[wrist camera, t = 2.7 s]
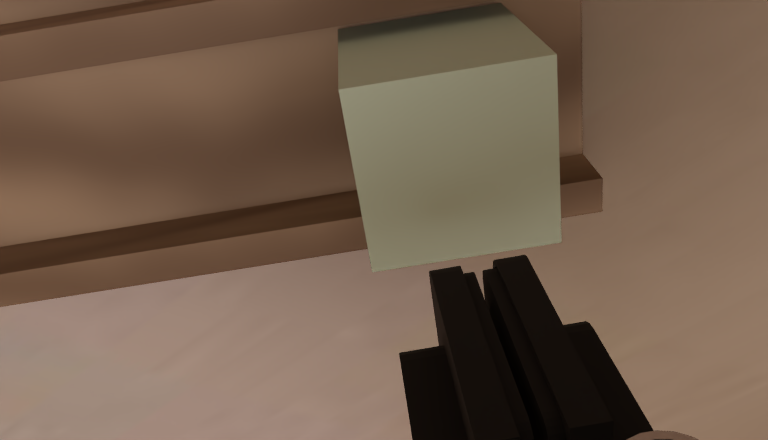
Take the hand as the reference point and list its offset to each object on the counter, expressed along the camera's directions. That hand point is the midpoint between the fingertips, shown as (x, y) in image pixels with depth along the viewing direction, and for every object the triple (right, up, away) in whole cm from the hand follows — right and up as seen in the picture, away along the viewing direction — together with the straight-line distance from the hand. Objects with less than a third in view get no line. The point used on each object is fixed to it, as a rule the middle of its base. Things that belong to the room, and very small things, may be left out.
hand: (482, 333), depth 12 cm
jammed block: (0, +6, +10) cm, 12 cm away
